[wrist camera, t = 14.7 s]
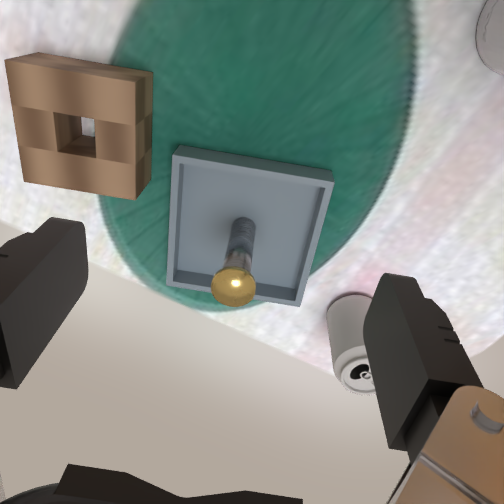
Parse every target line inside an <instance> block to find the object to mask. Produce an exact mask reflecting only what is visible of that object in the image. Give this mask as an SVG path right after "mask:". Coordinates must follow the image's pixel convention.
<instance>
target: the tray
mask: <svg viewBox="0 0 504 504" xmlns="http://www.w3.org/2000/svg"><path fill="white" fill-rule="evenodd" d="M334 183H335V182H334V178H333V174H332V171H331V170H325V169H319V168H313V167H307V166H301V165H295V164H289V163H283V162H278V161H272V160H266V159H260V158H254V157H248V156H242V155H236V154H231V153H225V152H219V151H213V150H207V149H201V148H195V147H189V146H184V145H179V146H178V148H177V149H176V151H175V152H174V153H173V155H172V176H171V197H170V218H169V239H168V260H167V281H166V285H167V286H174V287H180V288H186V289H192V290H198V291H204V292H211V283H212V279H213V276H214V275H215V273H216V272H217V271H218V270H220V269H222V267H223V263H224V258H225V254H226V250H227V245H228V241H229V237H230V232H231V228H232V224H233V222H234V221H235V220H236V219H237V218H240V217H247V218H249V219H251V220H252V221H253V222H254V223H255V225H256V232H255V241H254V249H253V257H252V265H251V274H252V276H253V277H254V279H255V282H256V290H255V295H254V297H253V299H254V300H260V301H266V302H272V303H278V304H285V305H291V306H297V307H300V305H301V301H302V298H303V294H304V291H305V287H306V283H307V280H308V276H309V273H310V269H311V265H312V262H313V258H314V255H315V251H316V247H317V244H318V240H319V237H320V233H321V230H322V226H323V222H324V219H325V215H326V212H327V208H328V204H329V201H330V197H331V194H332V190H333V186H334ZM211 293H212V292H211Z"/></svg>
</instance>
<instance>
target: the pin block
mask: <svg viewBox="0 0 504 504" xmlns="http://www.w3.org/2000/svg"><path fill="white" fill-rule="evenodd" d="M4 61H5V67H6V73H7V79H8V86H9V92H10V98H11V104H12V110H13V117H14V123H15V129H16V135H17V142H18V148H19V154H20V160H21V167H22V173H23V179H24V182H29V183H35V184H41V185H47V186H53V187H59V188H65V189H71V190H77V191H83V192H89V193H95V194H101V195H107V196H113V197H119V198H125V199H131V200H136V199H137V198H138V196H139V195H140V194H141V192H142V191H143V190H144V188H145V187H146V185H147V184H148V183H149V181H150V180H151V155H152V102H153V72H148V71H142V70H136V69H131V68H125V67H119V66H113V65H108V64H102V63H96V62H90V61H85V60H79V59H73V58H67V57H62V56H56V55H50V54H44V53H39V52H38V53H33V54H29V55H24V56H19V57H15V58H10V59H6V60H4ZM81 117H86V118H91V119H94V123H95V137H90V136H84V135H82V126H81Z"/></svg>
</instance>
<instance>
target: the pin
mask: <svg viewBox="0 0 504 504" xmlns="http://www.w3.org/2000/svg"><path fill="white" fill-rule="evenodd" d="M255 232H256V225H255V223H254V222H253V221H252V220H251V219H249V218H247V217H240V218H237V219H236V220H235V221H234V222H233V224H232V228H231V232H230V237H229V241H228V245H227V250H226V254H225V258H224V263H223V267H222V269H220V270H218V271H217V272H216V273H215V275H214V276H213V279H212V283H211V292H212V294H213V296H214V298H215V299H216V300H217V301H219V302H220V303H222V304H224V305H226V306H231V307H239V306H243V305H245V304H247V303H249V302H250V301H251V300H252V299H253V297H254V295H255V290H256V282H255V279H254V277H253V276H252V274H251V265H252V257H253V249H254V241H255Z"/></svg>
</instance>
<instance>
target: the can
mask: <svg viewBox="0 0 504 504" xmlns="http://www.w3.org/2000/svg"><path fill="white" fill-rule="evenodd" d="M371 301H372V299H371V298H369V297H366V296H362V295H350V296H346V297H343V298H341V299H339V300H337V301H335V302H334V303H333V304H332V305H331V306H330V308H329V310H328V312H327V325H328V332H329V340H330V347H331V355H332V362H333V370H334V373H335V376H336V377H337V379H338V380H339V381H340V382H341V383H342V385H343V386H344V387H345V389H347V390H348V391H350V392H352V393H355V394H359V395H372V394H376V391H375V387H374V382H373V378H372V374H371V370H370V365H369V361H368V357H367V352H366V348H365V344H364V339H363V325H364V320H365V316H366V314H367V311H368V309H369V306H370V303H371Z"/></svg>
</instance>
